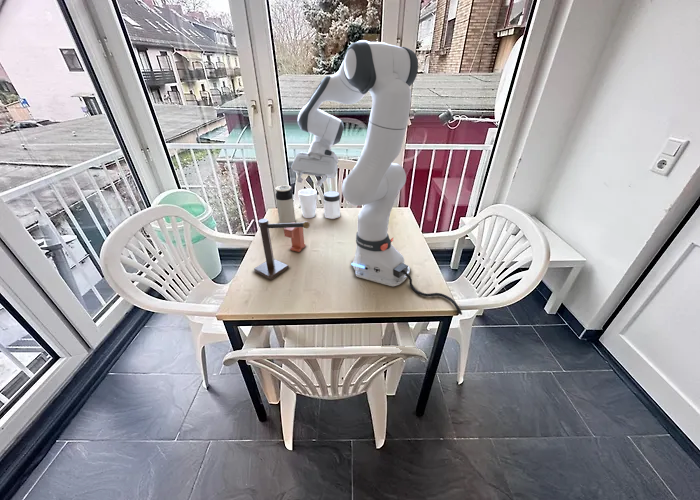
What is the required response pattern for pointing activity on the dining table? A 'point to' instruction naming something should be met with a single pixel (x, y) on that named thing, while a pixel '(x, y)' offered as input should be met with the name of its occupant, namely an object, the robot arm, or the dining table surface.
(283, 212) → the travel mug
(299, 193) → the foam cup
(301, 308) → the dining table surface
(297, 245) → the hook block
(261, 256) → the dining table surface
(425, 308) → the dining table surface
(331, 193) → the jar
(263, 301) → the dining table surface
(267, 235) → the peg stand
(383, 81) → the robot arm
